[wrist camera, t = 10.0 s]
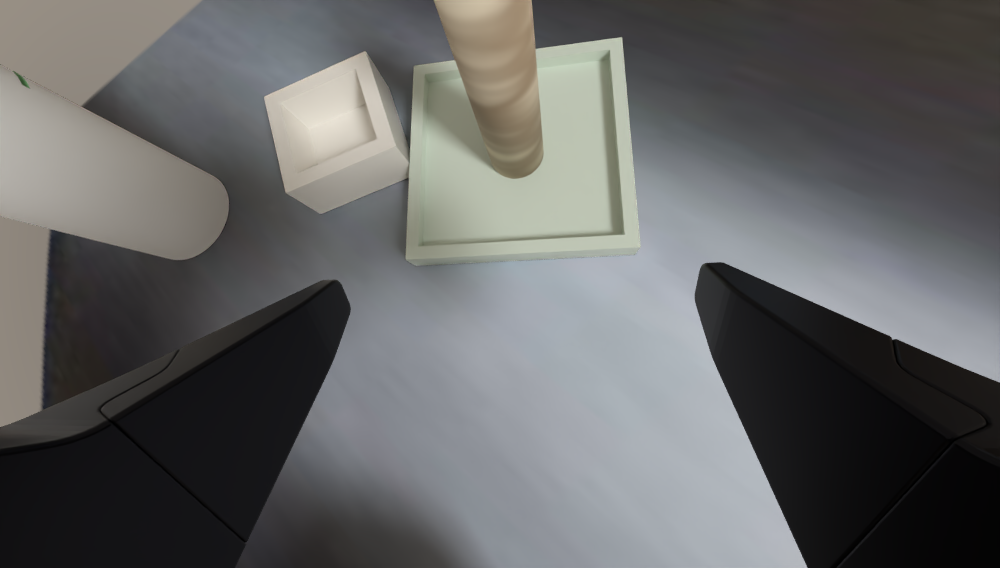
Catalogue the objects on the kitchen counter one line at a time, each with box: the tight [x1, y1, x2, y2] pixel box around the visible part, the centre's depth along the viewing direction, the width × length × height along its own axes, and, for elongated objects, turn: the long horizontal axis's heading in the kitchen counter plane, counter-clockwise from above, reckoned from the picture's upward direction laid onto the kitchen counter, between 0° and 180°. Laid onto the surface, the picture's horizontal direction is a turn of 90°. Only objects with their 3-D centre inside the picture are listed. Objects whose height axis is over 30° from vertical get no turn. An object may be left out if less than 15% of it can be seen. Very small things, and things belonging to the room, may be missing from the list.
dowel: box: [434, 0, 544, 179], centre depth 17 cm, size 4×4×14 cm
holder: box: [264, 51, 410, 214], centre depth 25 cm, size 8×8×4 cm
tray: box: [406, 37, 641, 266], centre depth 24 cm, size 14×14×2 cm
